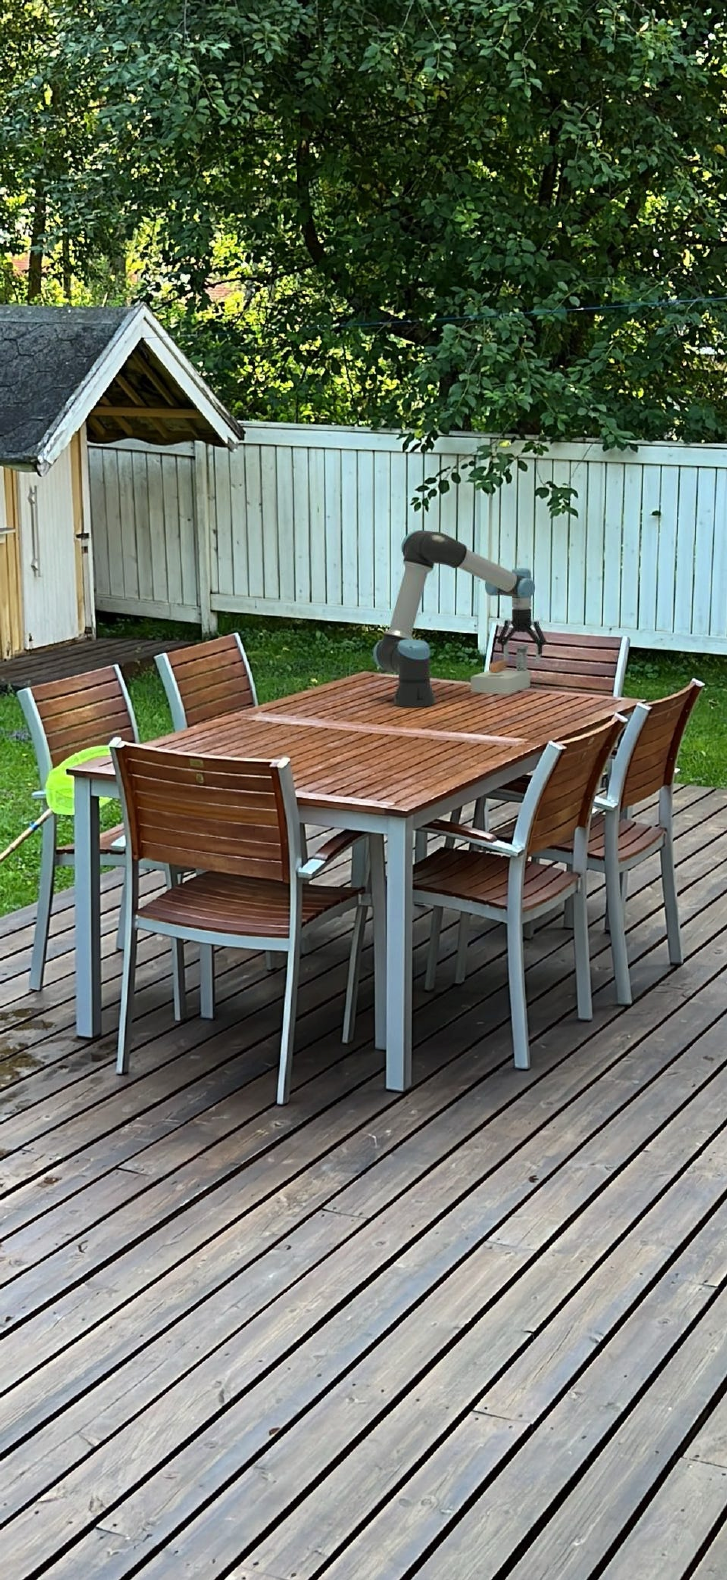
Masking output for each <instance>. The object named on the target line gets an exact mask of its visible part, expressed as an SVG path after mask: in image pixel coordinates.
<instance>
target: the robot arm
mask: <svg viewBox="0 0 727 1580" xmlns="http://www.w3.org/2000/svg"><path fill="white" fill-rule="evenodd" d="M400 547H401V548H400V549H401V550H400V551H401V552H402V556H403V560H402V564H403V566H404V567H405V568H404V572H403V576H402V580H401V582H400V587H399V590H398V595H397V599H396V601H395V602H396V603H395V606H394V610H393V613H392V617H391V621H390V624H389V629H388V630H386V631H384V632H383V634H382V639H381V640H379V641H378V642H376V644H375V646H374V648H373V651H372V652H373V654H372V655H373V660H374V662H375V664H376V666H377V667H379V668H380V669H381V670H384V671H386V672H389V673H396V674H398V684H397V685H398V686H397V688H396V692H395V695H394V699H393V702H394V704H393V705H395V706H397V707H406V708H422V707H430V706H434V705H436V697H435V694H434V691H433V688H432V685H431V666H430V665H431V663H430V662H431V651H430V646H429V643H427V641H425V640H424V641H423V640H420V639H415V638H413V636H412V633H413V630H414V627H415V622H416V618H417V615H418V611H419V607H420V604H421V600H422V596H423V592H424V588H425V584H426V581H427V578H428V575H429V573H431V572H432V571H434V566H435V564H439V565H442V566H444V565H445V566H448V567H451V568H452V569H457V568H458V569H460V570H462V571H464V572H466V573H468V574H470V575H471V576H472V575H473V576H475V577H476V578H478V579H481V580H482V581H484V590H485V593H486V594H487V595H488V596H490V597H493V596H494V597H497V596H505V597H511V607H512V610H511V619H512V620H510V619H506V620H504V622H503V623H504V624H503V627H502V629H501V631H500V634H499V636H498V638H497V640H496V643H497V644H499V645H500V646H501V654H503V660H505V661H507V662H509V644H508V642H509V641H510V639H511V638H512V637H513V636H514V635H515V634H516V633H527V634H528V636H529V637H531V639H532V641H533V642H534V643H535V645H536V646H535V664H540V663H541V655H542V654H543V646H545V645H547V644H548V641H547V640H546V637H545V635H544V633H543V631H542V628H541V626H540V621H539V620H532V608H531V607H532V596H533V595H534V594H535V591H536V584H535V582H534V580H532V572H531V570H530V569H529V568H528V567H527V568H526V567H525V568H524V567H519V568H518V567H517V568H513V569H512V570H511V571H510V570H509V569H507V568H505V567H503V566H501V565H499V564H496V563H495V562H492V561H491V560H489V559H487V558H485V557H483V556H482V555H479V554H477V553H475V552H473V551H472V550H470V549H468V547H467V546H466V544H464V543H463V542H460V541H458V540H457V539H455V538H453V537H451V536H449V535H447V534H445V533H443V532H440V531H431V530H425V529H424V530H423V529H421V530H420V529H419V530H413V531H411V532H409V533H407V534H406V535H405V536H404V538H403V539H402V543H401V546H400ZM510 626H512V627H511V629H510V631H509V632H508V630H509V627H510ZM532 627H533V628H534V631H535V632H536V633H535V632H534V631H533V628H532ZM507 632H508V634H507Z"/></svg>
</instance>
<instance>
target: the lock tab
mask: <svg viewBox="0 0 727 1580" xmlns="http://www.w3.org/2000/svg"><path fill="white" fill-rule="evenodd" d="M507 662H508V661H505V660H504V659H503V660H498V661H496V662H490V663H489V670H490V672H499V671H500V670H507V668H508V667H507Z"/></svg>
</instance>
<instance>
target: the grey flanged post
mask: <svg viewBox="0 0 727 1580" xmlns="http://www.w3.org/2000/svg"><path fill="white" fill-rule="evenodd" d="M514 649H516V671H528V649H529V645H528V644H517V645H514ZM531 673H532V672H530V677H531V676H532V675H531Z"/></svg>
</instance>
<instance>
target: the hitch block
mask: <svg viewBox="0 0 727 1580" xmlns="http://www.w3.org/2000/svg"><path fill="white" fill-rule="evenodd" d="M530 673H531V671H529V670H527V671H517V670H511V669H510V670H509V669H503V670H500V671H499V672H490V669H489V670H487V671H484V672H480V673H477V674H474V675H472V676H470V692H471V693H482V694H498V695H511V694H514V693H516V691H517V692H519V691H518V690H520V691H522V690H524V689H528V688H530V687H531V676H530Z"/></svg>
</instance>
